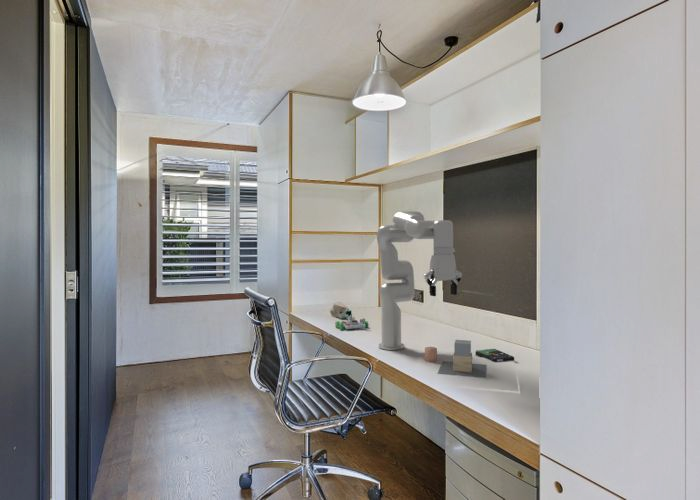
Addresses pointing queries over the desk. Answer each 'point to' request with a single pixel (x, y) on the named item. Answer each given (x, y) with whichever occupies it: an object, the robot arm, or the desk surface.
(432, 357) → the brown egg shape
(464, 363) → the pale oak block
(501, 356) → the disk drive
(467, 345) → the slate grey block
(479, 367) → the charcoal mat
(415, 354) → the desk surface
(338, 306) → the decorative stone
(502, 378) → the desk surface
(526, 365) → the desk surface
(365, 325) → the robot kit
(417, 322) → the desk surface
